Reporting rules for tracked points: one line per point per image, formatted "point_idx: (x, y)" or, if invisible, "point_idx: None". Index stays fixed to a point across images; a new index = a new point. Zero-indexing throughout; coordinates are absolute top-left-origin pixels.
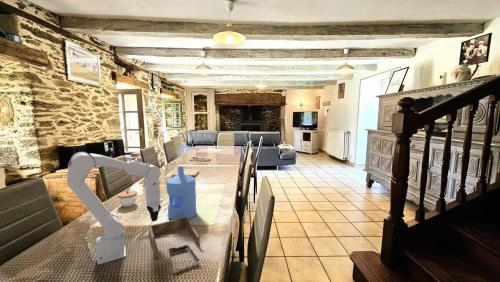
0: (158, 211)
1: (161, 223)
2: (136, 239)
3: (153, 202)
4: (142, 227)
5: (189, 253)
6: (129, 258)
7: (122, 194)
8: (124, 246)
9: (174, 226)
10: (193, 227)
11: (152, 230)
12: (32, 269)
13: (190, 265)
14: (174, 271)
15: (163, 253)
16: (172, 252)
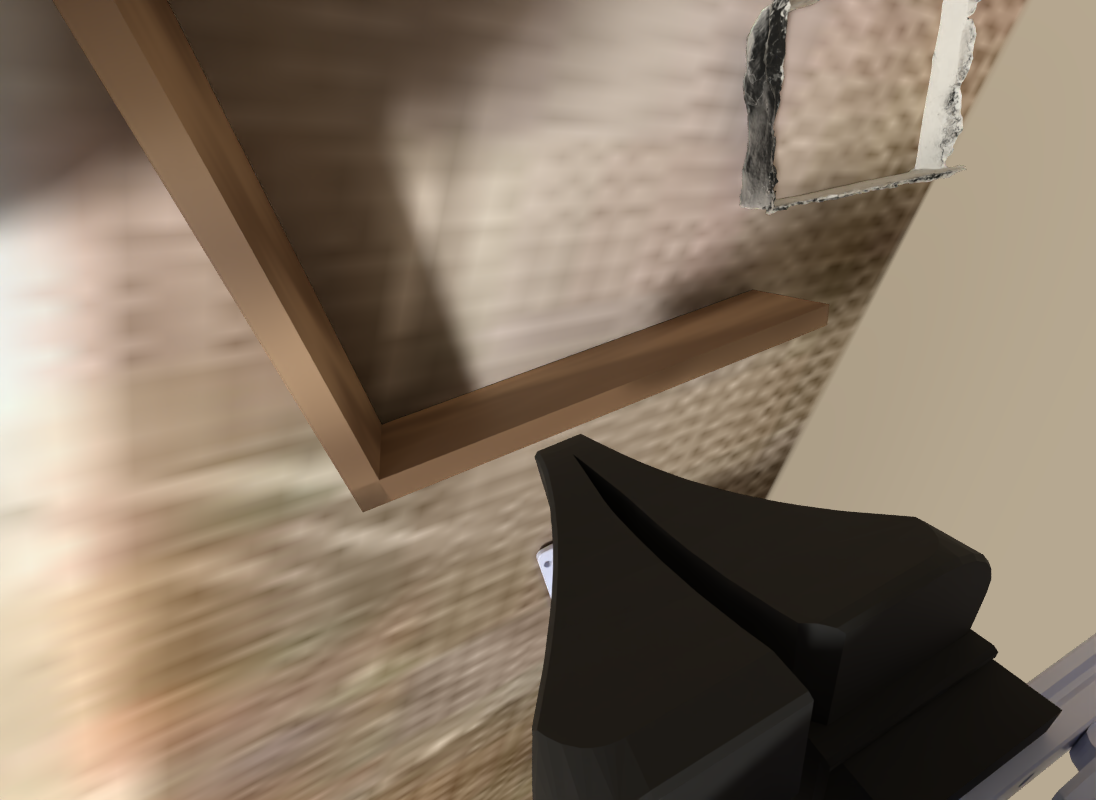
0: (759, 506)
1: (309, 361)
2: (440, 522)
3: None
4: (177, 565)
5: (811, 3)
6: (667, 471)
7: None
8: (545, 556)
9: (228, 145)
10: None
11: (373, 436)
12: None
13: (972, 22)
14: (939, 161)
15: (708, 259)
16: (748, 178)
